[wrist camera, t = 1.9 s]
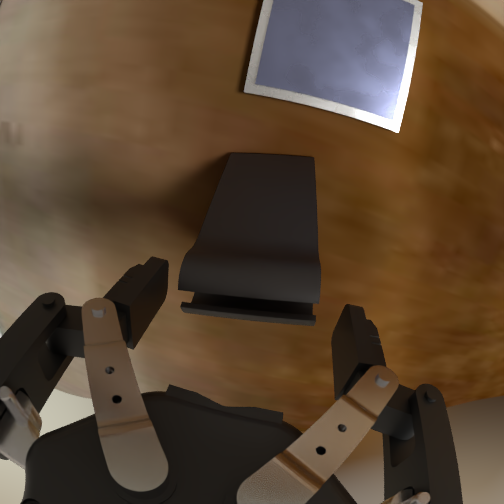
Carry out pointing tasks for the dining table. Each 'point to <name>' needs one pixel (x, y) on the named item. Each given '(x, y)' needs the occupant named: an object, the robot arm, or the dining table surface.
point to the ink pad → (337, 56)
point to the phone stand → (258, 244)
